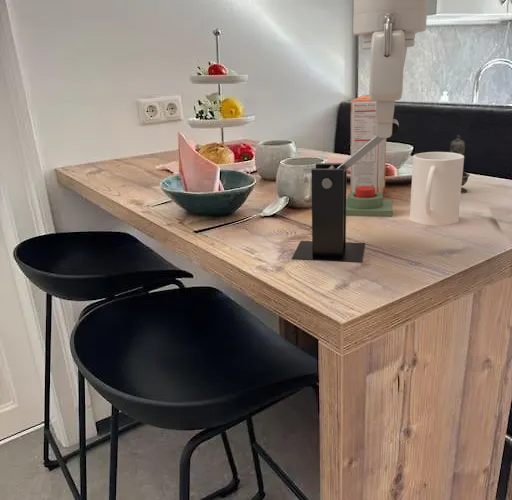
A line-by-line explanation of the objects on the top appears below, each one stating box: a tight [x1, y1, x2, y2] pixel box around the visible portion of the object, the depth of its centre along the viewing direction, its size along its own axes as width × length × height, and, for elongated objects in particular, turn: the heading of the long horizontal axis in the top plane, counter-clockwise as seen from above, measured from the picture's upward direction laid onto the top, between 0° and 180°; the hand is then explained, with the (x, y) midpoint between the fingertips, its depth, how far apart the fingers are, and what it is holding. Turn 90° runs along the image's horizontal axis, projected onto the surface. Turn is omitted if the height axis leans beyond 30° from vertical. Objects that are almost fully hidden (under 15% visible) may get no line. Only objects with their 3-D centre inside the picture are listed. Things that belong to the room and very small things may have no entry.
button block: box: [346, 192, 393, 218], centre depth 94 cm, size 10×8×4 cm
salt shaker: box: [449, 134, 471, 194], centre depth 107 cm, size 6×6×12 cm
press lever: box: [328, 118, 400, 172], centre depth 69 cm, size 13×5×2 cm
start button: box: [355, 186, 375, 198], centre depth 93 cm, size 4×4×2 cm
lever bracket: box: [291, 162, 366, 264], centre depth 73 cm, size 10×8×14 cm
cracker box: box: [350, 94, 387, 195], centre depth 103 cm, size 14×6×21 cm, turn 161°
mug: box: [408, 151, 465, 226], centre depth 85 cm, size 12×8×12 cm
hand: (384, 132), depth 67 cm, fingers open, 8 cm apart
